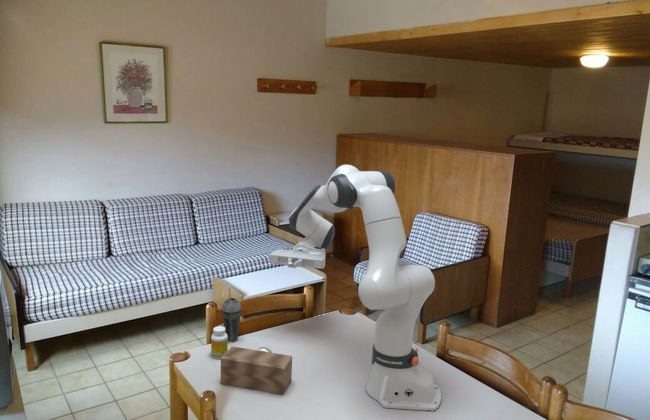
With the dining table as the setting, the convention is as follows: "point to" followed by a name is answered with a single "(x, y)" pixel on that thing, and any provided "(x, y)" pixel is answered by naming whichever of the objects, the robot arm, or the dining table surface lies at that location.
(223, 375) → the block
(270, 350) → the knob
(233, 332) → the beverage cup
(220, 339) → the supplement bottle
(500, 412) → the dining table surface
